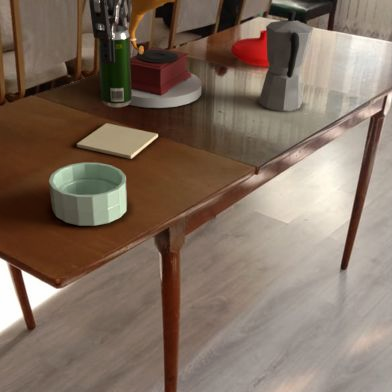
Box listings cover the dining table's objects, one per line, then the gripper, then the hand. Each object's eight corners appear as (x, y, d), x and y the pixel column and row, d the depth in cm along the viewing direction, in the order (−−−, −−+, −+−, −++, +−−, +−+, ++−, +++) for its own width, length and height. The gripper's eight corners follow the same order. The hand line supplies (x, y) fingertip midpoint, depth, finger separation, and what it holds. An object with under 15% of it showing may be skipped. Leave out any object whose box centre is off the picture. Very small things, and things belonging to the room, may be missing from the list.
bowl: (85, 235, 91) (82, 204, 87) (38, 208, 96) (34, 177, 93) (141, 209, 97) (141, 179, 94) (94, 185, 102) (92, 156, 99)
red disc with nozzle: (297, 57, 159) (301, 26, 155) (289, 76, 148) (293, 44, 143) (237, 50, 162) (239, 20, 157) (224, 68, 150) (226, 36, 146)
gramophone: (89, 95, 133) (78, -41, 117) (137, 69, 147) (134, -56, 131) (174, 114, 127) (176, -27, 110) (216, 85, 141) (224, -44, 124)
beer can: (135, 106, 110) (133, 32, 102) (105, 109, 108) (101, 34, 100) (127, 95, 114) (124, 23, 106) (98, 98, 112) (93, 25, 104)
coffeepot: (255, 92, 138) (264, 1, 127) (297, 93, 139) (310, 3, 127) (263, 118, 127) (273, 21, 115) (309, 120, 127) (324, 23, 116)
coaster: (131, 159, 110) (130, 155, 110) (76, 146, 113) (76, 143, 113) (157, 136, 118) (157, 133, 118) (106, 126, 121) (106, 123, 121)
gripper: (101, -69, 101) (107, 44, 112) (67, -55, 90) (77, 68, 101) (145, -65, 100) (147, 48, 111) (117, -50, 89) (122, 73, 100)
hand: (114, 57), depth 106 cm, fingers closed on beer can, 5 cm apart
